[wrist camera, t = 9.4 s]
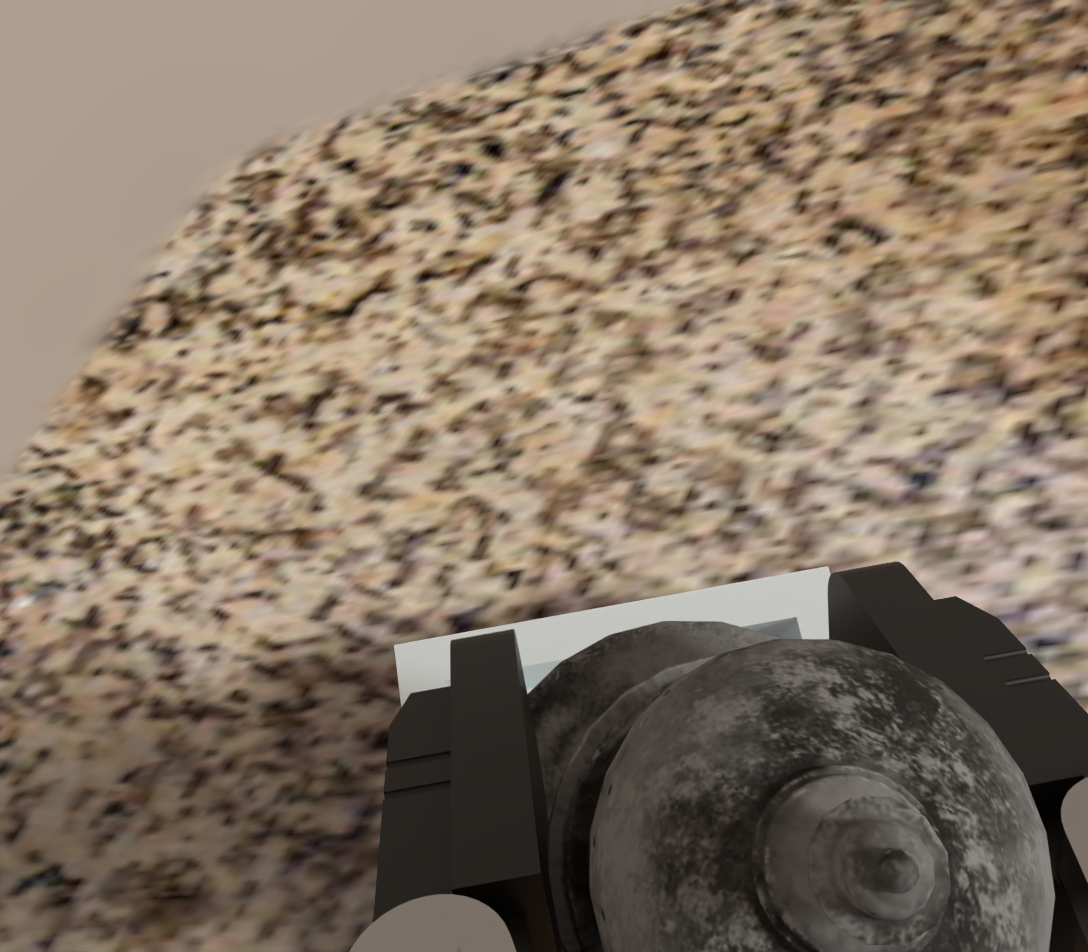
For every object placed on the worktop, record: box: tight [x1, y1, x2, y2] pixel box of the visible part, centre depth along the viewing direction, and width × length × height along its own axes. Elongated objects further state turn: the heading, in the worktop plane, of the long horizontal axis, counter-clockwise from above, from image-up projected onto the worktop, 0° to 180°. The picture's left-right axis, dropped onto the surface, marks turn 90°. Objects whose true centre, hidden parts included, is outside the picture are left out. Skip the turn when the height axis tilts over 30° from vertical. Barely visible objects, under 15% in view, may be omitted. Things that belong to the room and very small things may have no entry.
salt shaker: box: [528, 621, 1055, 952], centre depth 10 cm, size 6×6×12 cm
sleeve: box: [394, 566, 830, 707], centre depth 23 cm, size 10×10×4 cm
